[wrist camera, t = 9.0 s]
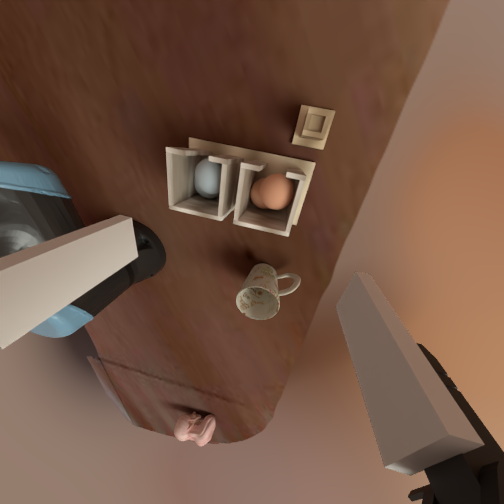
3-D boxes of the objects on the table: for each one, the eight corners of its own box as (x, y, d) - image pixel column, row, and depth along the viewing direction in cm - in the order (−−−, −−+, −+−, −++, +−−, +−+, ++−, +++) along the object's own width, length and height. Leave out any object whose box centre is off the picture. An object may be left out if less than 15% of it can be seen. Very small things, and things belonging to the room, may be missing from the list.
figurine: (217, 406, 87) (178, 406, 84) (215, 440, 77) (170, 442, 74) (214, 415, 93) (177, 416, 90) (212, 448, 83) (170, 450, 80)
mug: (240, 264, 43) (228, 292, 34) (292, 248, 39) (293, 276, 30) (254, 291, 46) (246, 322, 37) (304, 279, 42) (308, 312, 33)
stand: (292, 143, 30) (292, 141, 25) (301, 105, 27) (303, 95, 23) (322, 149, 30) (328, 148, 25) (334, 111, 27) (344, 102, 22)
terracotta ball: (251, 207, 27) (274, 203, 23) (254, 173, 27) (279, 163, 23) (275, 213, 30) (299, 211, 26) (278, 183, 30) (303, 176, 26)
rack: (190, 199, 38) (158, 214, 28) (191, 137, 32) (150, 131, 23) (296, 223, 36) (298, 248, 27) (315, 162, 31) (326, 166, 21)
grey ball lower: (203, 191, 36) (188, 197, 32) (203, 163, 33) (187, 166, 29) (226, 197, 35) (214, 204, 31) (229, 169, 32) (215, 173, 28)
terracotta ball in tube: (253, 201, 35) (244, 208, 31) (258, 173, 32) (248, 177, 28) (278, 207, 34) (271, 215, 30) (285, 179, 31) (279, 184, 27)
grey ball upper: (193, 191, 29) (190, 188, 25) (197, 158, 29) (196, 149, 24) (223, 198, 31) (227, 196, 26) (229, 167, 30) (233, 160, 25)
